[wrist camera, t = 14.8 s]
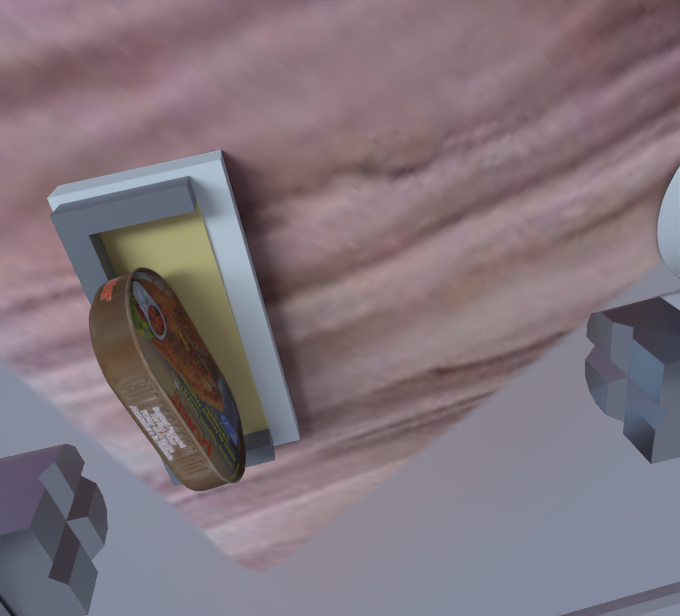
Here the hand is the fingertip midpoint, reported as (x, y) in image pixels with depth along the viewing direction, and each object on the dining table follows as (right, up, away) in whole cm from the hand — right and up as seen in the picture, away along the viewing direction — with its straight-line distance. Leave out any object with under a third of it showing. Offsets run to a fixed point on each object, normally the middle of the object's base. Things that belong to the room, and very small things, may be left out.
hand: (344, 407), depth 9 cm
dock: (-10, +1, +31) cm, 33 cm away
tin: (-11, -1, +29) cm, 31 cm away
